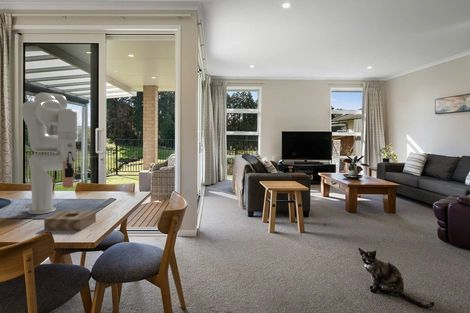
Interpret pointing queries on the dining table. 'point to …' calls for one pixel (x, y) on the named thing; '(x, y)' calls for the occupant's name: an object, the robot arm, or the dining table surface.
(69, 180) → the peg
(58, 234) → the dining table surface
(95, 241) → the dining table surface
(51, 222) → the socket block
